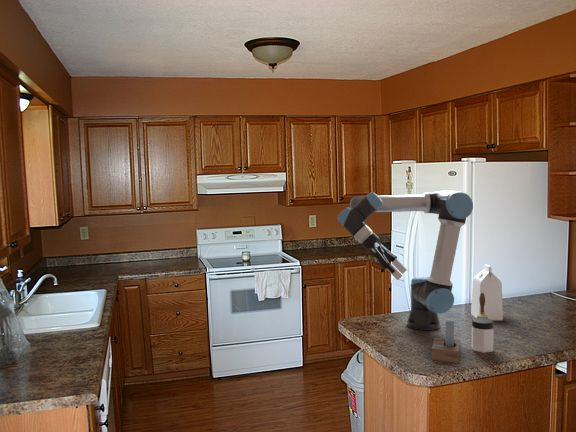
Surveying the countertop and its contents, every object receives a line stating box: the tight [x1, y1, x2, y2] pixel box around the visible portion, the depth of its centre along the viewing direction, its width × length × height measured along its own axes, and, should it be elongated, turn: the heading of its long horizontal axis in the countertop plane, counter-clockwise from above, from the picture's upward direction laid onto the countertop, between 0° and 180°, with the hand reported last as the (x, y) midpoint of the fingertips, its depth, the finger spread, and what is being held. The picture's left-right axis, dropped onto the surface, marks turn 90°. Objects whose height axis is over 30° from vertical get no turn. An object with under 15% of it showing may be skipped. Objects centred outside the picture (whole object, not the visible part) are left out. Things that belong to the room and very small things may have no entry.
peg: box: [444, 319, 455, 347], centre depth 206 cm, size 3×3×14 cm
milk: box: [470, 263, 504, 321], centre depth 259 cm, size 12×12×26 cm
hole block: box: [431, 337, 461, 364], centre depth 206 cm, size 14×10×4 cm
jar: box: [470, 317, 494, 353], centre depth 213 cm, size 9×8×12 cm
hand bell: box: [477, 293, 488, 319], centre depth 243 cm, size 8×8×16 cm
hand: (402, 274), depth 218 cm, fingers open, 13 cm apart
